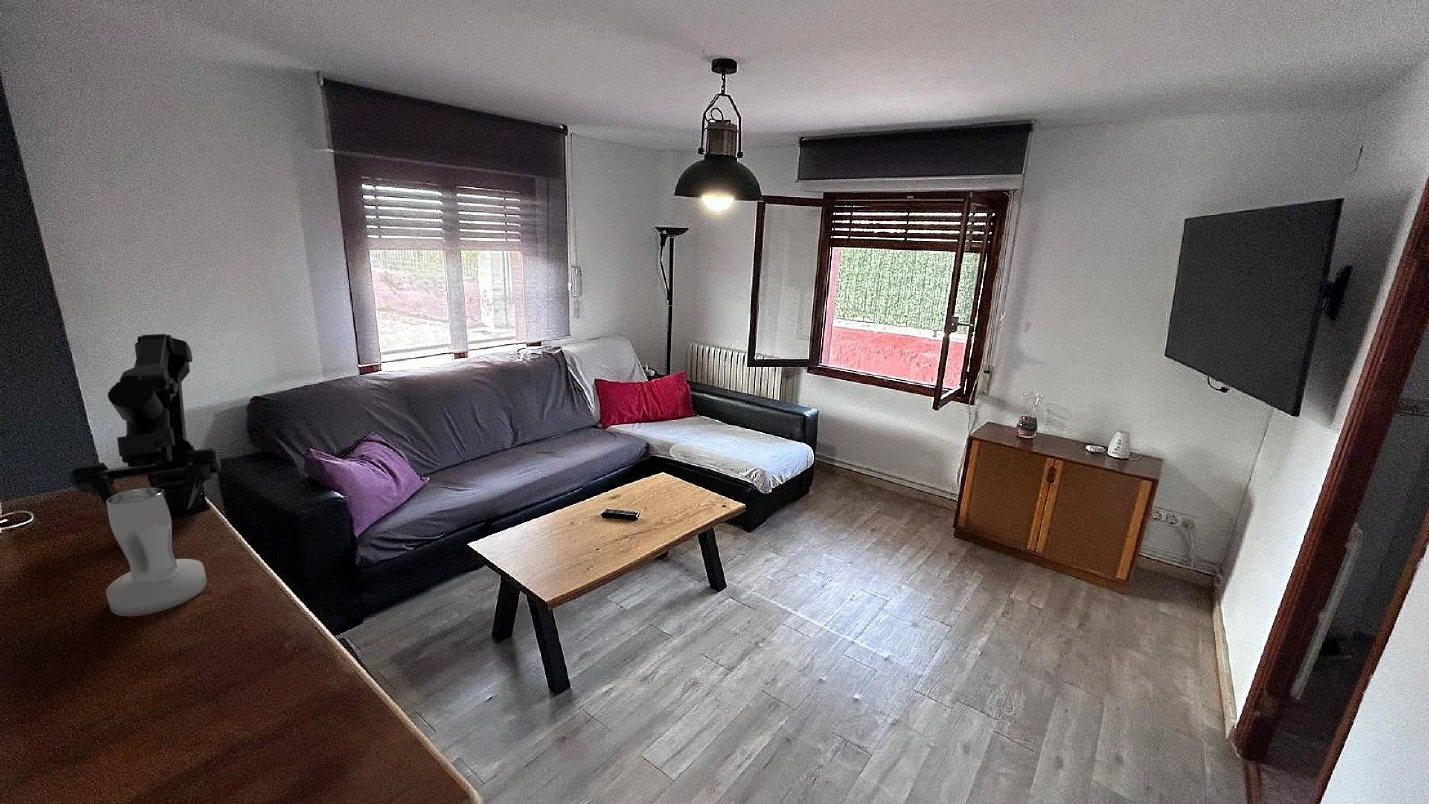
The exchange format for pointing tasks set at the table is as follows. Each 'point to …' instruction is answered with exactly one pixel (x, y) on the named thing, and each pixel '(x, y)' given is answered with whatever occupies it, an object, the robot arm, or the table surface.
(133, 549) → the beer glass
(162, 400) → the robot arm
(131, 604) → the cream stand
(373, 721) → the table surface
